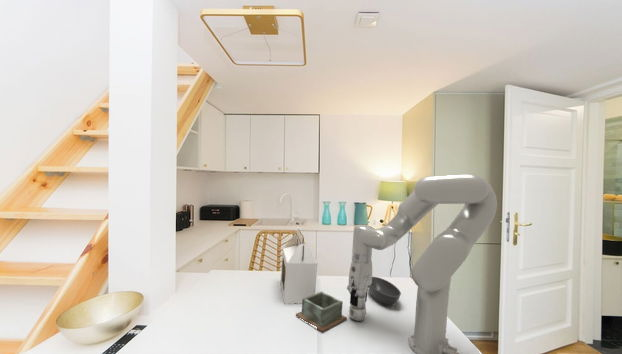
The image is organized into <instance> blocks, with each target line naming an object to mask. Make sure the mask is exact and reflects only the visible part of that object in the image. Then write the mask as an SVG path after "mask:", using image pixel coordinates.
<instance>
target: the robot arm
mask: <svg viewBox="0 0 622 354" xmlns="http://www.w3.org/2000/svg"><path fill="white" fill-rule="evenodd" d="M439 204H440V205H441V204H442V205H443V204H444V205H446V204H449V205H451V204H453V205H455V204H456V205H457V204H459V205H460V204H463V205H464V206H463V207H462V209H461V210H460V211H459V213H458V214H457V215H456V217H455V218H454V219H453V221H452V222H451V223H450V224H449V225H448V227H447V228H446V229H445V230H443V231H442V232H441V233H439V234H438V235H437V236H436V237H434V238H433V240H432V242H431V243H430V244H429V245H428V246H427V248H426V249H425V250H424V251H423V253H422V254H421V256H420V257H419V258H418V259H417V260H416V262H415V263H414V264H413V267H412V269H411V270H412V271H411V275H412V276H411V277H412V280H413V282H414V283H415V285H416V286H417V292H416V293H417V294H416V302H415V303H416V305H415V318H414V329H413V334H412V335H409V338H408V345H409V347H410V349H411V350H412V351H413V352H414V353H415V354H460V352H458V348H457V347H455V346H453V345H450V343H449V338H448V337H446V336H447V335H446V333H447V322H448V321H447V320H448V308H449V297H450V296H449V295H450V289H451V281H452V277H453V276H454V275H455V273H456V272H457V271H458V269H459V268H461V266H462V265H463V263H464V262H465V261H466V259H467V258H468V256H469V255H470V254H471V251H472V248H473V247H474V246H475V244H476V243H477V242H478V241H479V239H480V238H481V237H482V236H483V234H484V233H485V232H486V230H487V229H488V227H489V226H490V225H491V223H492V222H493V220H494V219H495V216H496V213H497V208H498V200H497V196H496V193H495V191H494V189H493V187H492V186H491V184H490V183H489V182H488V181H487V179H485V178H484V177H483V176H479V175H477V174H473V173H468V174H454V175H453V174H452V175H451V174H450V175H438V176H437V175H436V176H433V175H432V176H431V175H430V176H424V177H422V178H420V179H419V180H418V181H417V182H416V183H415V186H414V190H413V191H412V192H411V193H410V194H409V195H408V196H407V197H406V198H405V199H404V200H403V201H402V202H401V203H400V204H399V205H398V207H397V209H398V210H397V212H396V214H395V216H394V217H393V218H391V219H390V221H388V222H387V223H386V224H385V225H384V226H383V227H379V228H373V227H372V226H371V225H367V224H356V225H355V226H354V227H353V235H352V249H351V250H352V251H351V263H350V266H349V267H350V268H349V273H348V285H347V286H346V290H347V291H348V293H349V295H350V296H349V297H350V298H349V304H350V305H353V306H355V307H357V306H358V296H357V294H358V290H360V289H363V288H364V284H365V282H366V281H367V282H368V287H369V285H371V284H372V277H373V261H372V253H373V250H377V251H382V250H385V249H388V248H389V247H391V246H393V245H395V244H396V243H397V242H398V241H400V240H401V239H402V238H403V237H404V236H405V235H406V234H408V233H409V232H410V230H411V229H412V228H414V227H415V226H416V225H417V224H418V223H419V222H420V221H421V220H422V219H423V218H425V216H426V215H427V214H429V213H430V212H432V210H433V209H435V208H436V207H437V206H438V205H439ZM353 285H355V287H354V286H353ZM368 287H367V291H366V299H365V301H366V302H367V300H368V299H367V298H368V291H369V288H368ZM353 288H354V289H356V290H355V291H354V290H353Z"/></svg>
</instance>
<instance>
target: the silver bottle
mask: <svg viewBox="0 0 622 354" xmlns="http://www.w3.org/2000/svg"><path fill="white" fill-rule="evenodd" d="M353 286H354V287H355V285H353ZM367 287H368V282H367V281H366V282H365V284H364V288H363V289H360V290H358V294H357V296H358V306H357V307H355V306H353V305H351V304H350V305H349V309H348V312H349V313H348V314H349V317H350V319H351V320H353V321H355V322H363V321H365V319H366V317H367V308H366V307H367V306H366V305H367V304H366V303H367V301H365V299H366V292H368V291H367ZM353 290H354V291H355V290H356V289H354V288H353Z"/></svg>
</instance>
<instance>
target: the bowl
mask: <svg viewBox="0 0 622 354" xmlns="http://www.w3.org/2000/svg"><path fill="white" fill-rule="evenodd" d="M368 291H369V292H370V294H371V297H372V298H373V299H374V300H375V301H376V302H377V303H379V304H380V305H382V306H384V307H387V308H391V307H393V306H394V305H396V304H397V303H398V301H399V299H400V297H401V295H402V292H401V291H400V289H399V288H398V287H397V286H396V285H395V284H393V283H391V282H390V281H388V280H386V279H383V278H381V277H377V276H372V284H371V285H369V287H368Z"/></svg>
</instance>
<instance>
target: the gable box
mask: <svg viewBox="0 0 622 354" xmlns="http://www.w3.org/2000/svg"><path fill="white" fill-rule="evenodd" d="M304 239H305V237H304V235H303V233H302V232H301V231H300V229H297V232H296V231H294V235H293V236H292V237H291V238H290V239H289V241H288V242H287V243H286V245H285V246H284V247H283V248H282V255H281V257H282V258H281V268H280V269H281V273H280V287H281V288H280V289H281V293H282V300H283V304H284V305H288V303H302V300H303V298H306V297H309V296H311V295H314V294H316V289H317V275H318V265H319V264H318V262H317V260H316V258H315V256H314V255H313V253H312V251H311V249H310V248H309V245H307V244H306V242H305V240H304Z"/></svg>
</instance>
